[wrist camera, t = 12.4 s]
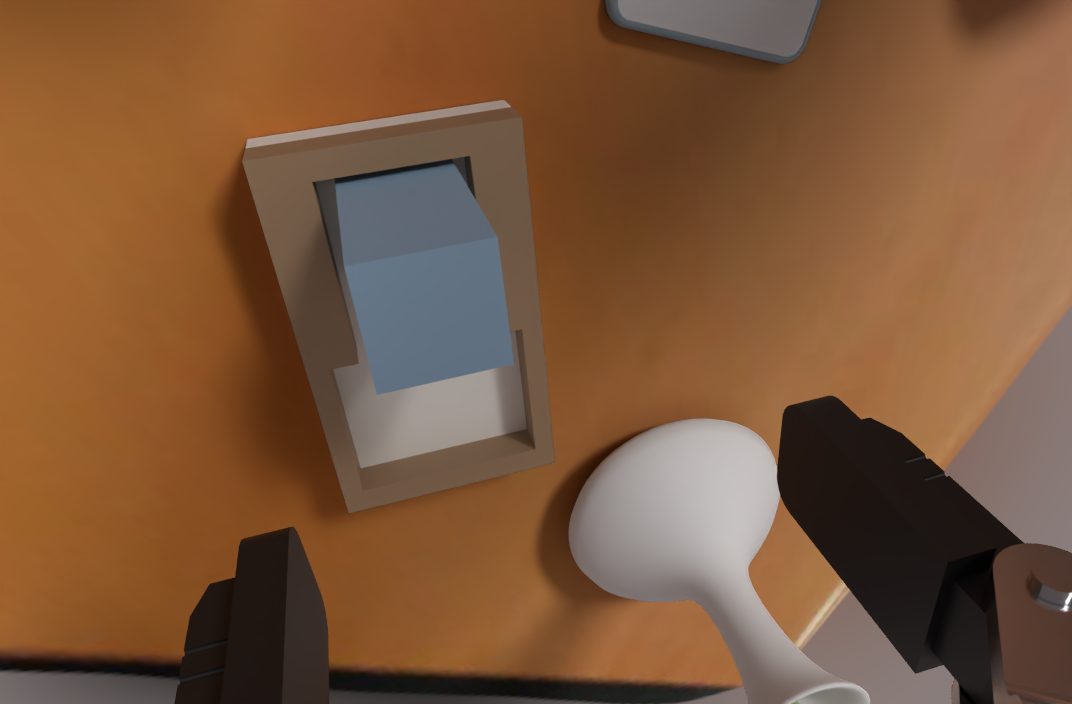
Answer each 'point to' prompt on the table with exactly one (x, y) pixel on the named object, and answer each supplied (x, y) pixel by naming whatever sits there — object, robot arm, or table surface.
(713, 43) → the smartphone
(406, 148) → the keyhole board
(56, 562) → the table surface
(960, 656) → the robot arm
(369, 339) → the block
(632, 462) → the flower in vase
